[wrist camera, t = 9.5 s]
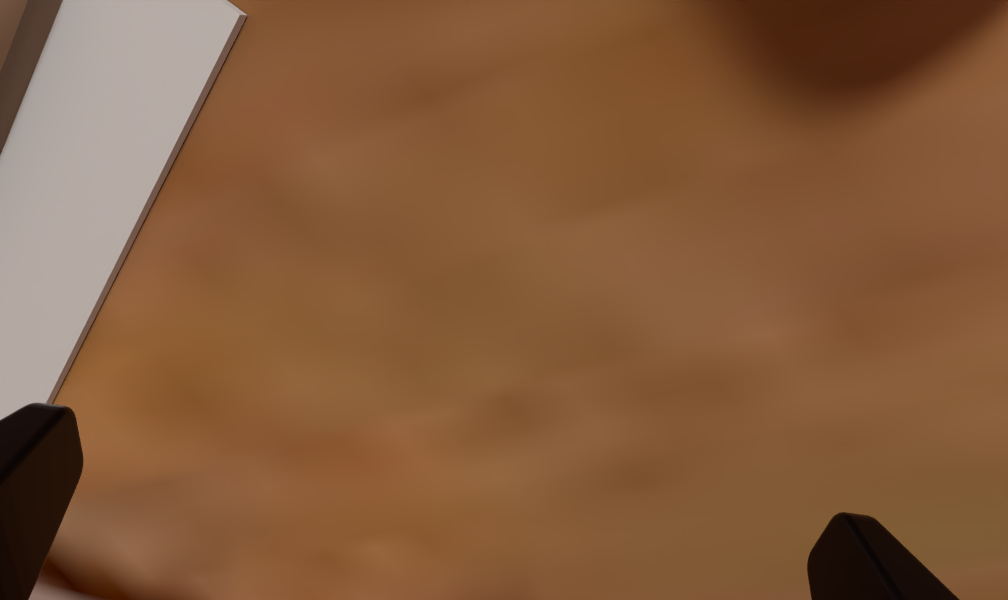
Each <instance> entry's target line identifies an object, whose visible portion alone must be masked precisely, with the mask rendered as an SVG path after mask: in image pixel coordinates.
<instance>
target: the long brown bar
mask: <svg viewBox="0 0 1008 600" xmlns="http://www.w3.org/2000/svg"><path fill="white" fill-rule="evenodd" d="M62 1H63V0H0V155H1V153H2V150H3V148H4V145H5V143H6V140H7V138H8V135H9V133H10V130H11V128H12V125H13V123H14V120H15V118H16V115H17V113H18V110H19V108H20V105H21V103H22V100H23V98H24V95H25V93H26V90H27V88H28V85H29V83H30V80H31V78H32V75H33V73H34V71H35V68H36V66H37V63H38V61H39V58H40V56H41V53H42V51H43V48H44V46H45V43H46V41H47V38H48V36H49V33H50V31H51V28H52V26H53V23H54V21H55V18H56V16H57V13H58V11H59V8H60V6H61V3H62Z"/></svg>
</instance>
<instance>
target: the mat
mask: <svg viewBox="0 0 1008 600" xmlns="http://www.w3.org/2000/svg"><path fill="white" fill-rule="evenodd" d="M246 17H247V15H246V14H245V13H244V12H242V11H241V10H240V9H238V8H237V7H235V6H234V5H233V4H231V3H230V2H229V1H227V0H63V1H62V3H61V6H60V8H59V11H58V13H57V16H56V18H55V21H54V23H53V26H52V28H51V31H50V33H49V36H48V38H47V41H46V43H45V46H44V48H43V51H42V53H41V56H40V58H39V61H38V63H37V66H36V68H35V71H34V73H33V75H32V78H31V80H30V83H29V85H28V88H27V90H26V93H25V95H24V98H23V100H22V103H21V105H20V108H19V110H18V113H17V115H16V118H15V120H14V123H13V125H12V128H11V130H10V133H9V135H8V138H7V140H6V143H5V145H4V148H3V150H2V153H1V155H0V420H1V419H3V418H5V417H6V416H8V415H10V414H11V413H13V412H15V411H17V410H18V409H20V408H22V407H24V406H26V405H28V404H31V403H46V404H52V403H53V401H54V399H55V397H56V395H57V393H58V391H59V389H60V387H61V385H62V383H63V381H64V379H65V377H66V375H67V373H68V371H69V369H70V367H71V365H72V363H73V361H74V359H75V357H76V355H77V353H78V351H79V349H80V347H81V345H82V343H83V341H84V339H85V337H86V335H87V333H88V331H89V329H90V327H91V325H92V323H93V321H94V319H95V317H96V315H97V313H98V311H99V309H100V307H101V305H102V303H103V301H104V299H105V297H106V295H107V293H108V291H109V289H110V287H111V285H112V284H113V282H114V280H115V278H116V276H117V274H118V272H119V270H120V268H121V266H122V264H123V262H124V260H125V258H126V256H127V254H128V252H129V250H130V248H131V246H132V244H133V242H134V240H135V238H136V236H137V234H138V232H139V230H140V228H141V226H142V224H143V222H144V220H145V218H146V216H147V214H148V212H149V210H150V208H151V206H152V204H153V202H154V200H155V198H156V196H157V194H158V192H159V190H160V188H161V186H162V184H163V182H164V180H165V178H166V176H167V174H168V172H169V170H170V168H171V166H172V164H173V162H174V160H175V158H176V156H177V154H178V152H179V150H180V148H181V146H182V144H183V142H184V140H185V138H186V136H187V134H188V132H189V130H190V128H191V126H192V124H193V123H194V121H195V119H196V117H197V115H198V113H199V111H200V109H201V107H202V105H203V103H204V101H205V99H206V97H207V95H208V93H209V91H210V89H211V87H212V85H213V83H214V81H215V79H216V77H217V75H218V73H219V71H220V69H221V67H222V65H223V63H224V61H225V59H226V57H227V55H228V53H229V51H230V49H231V47H232V45H233V43H234V41H235V39H236V37H237V35H238V33H239V31H240V29H241V27H242V25H243V23H244V21H245V19H246Z"/></svg>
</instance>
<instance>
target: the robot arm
mask: <svg viewBox="0 0 1008 600" xmlns="http://www.w3.org/2000/svg"><path fill="white" fill-rule="evenodd" d="M82 468H83V453H82V447H81V442H80V437H79V432H78V426H77V421H76V417H75V414H74V412H73V411H72V409H71V408H69V407H66V406H60V405H53V404H46V403H31V404H28V405H26V406H24V407H22V408H20V409H18V410H17V411H15V412H13V413H11V414H10V415H8V416H6V417H5V418H3V419H1V420H0V600H28V599H29V597H30V595H31V592H32V590H33V588H34V586H35V584H36V581H37V579H38V577H39V574H40V572H41V569H42V567H43V565H44V562H45V560H46V558H47V555H48V553H49V550H50V548H51V546H52V543H53V541H54V539H55V536H56V534H57V531H58V529H59V527H60V524H61V522H62V520H63V517H64V515H65V512H66V510H67V508H68V505H69V503H70V501H71V498H72V496H73V493H74V491H75V489H76V486H77V484H78V482H79V479H80V476H81V473H82ZM807 571H808V579H809V585H810V592H811V598H812V600H959V599H958V598H957V597H956V596H955V595H954V594H953V593H952V592H951V591H950V590H949V589H948V588H947V587H946V586H945V585H944V584H943V583H942V582H941V581H940V580H939V579H937V578H936V577H935V576H934V575H933V574H932V573H931V572H930V571H929V570H928V569H927V568H926V567H925V566H924V565H923V564H922V563H921V562H920V561H919V560H918V559H917V558H916V557H915V556H914V555H913V554H912V553H910V552H909V551H908V550H907V549H906V548H905V547H904V546H903V545H902V544H901V543H900V542H899V541H898V540H897V539H896V538H895V537H894V536H893V535H892V534H891V533H890V532H889V531H888V530H887V529H886V528H885V527H884V526H882V525H881V524H880V523H879V522H878V521H877V520H876V519H874V518H873V517H870V516H867V515H860V514H853V513H846V512H841V513H838V514H836V515H835V516H833V518H832V519H831V520H830V522H829V524H828V525H827V527H826V528H825V530H824V531H823V533H822V534H821V536H820V538H819V539H818V541H817V542H816V544H815V545H814V547H813V548H812V550H811V552H810V555H809V558H808V564H807Z"/></svg>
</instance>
